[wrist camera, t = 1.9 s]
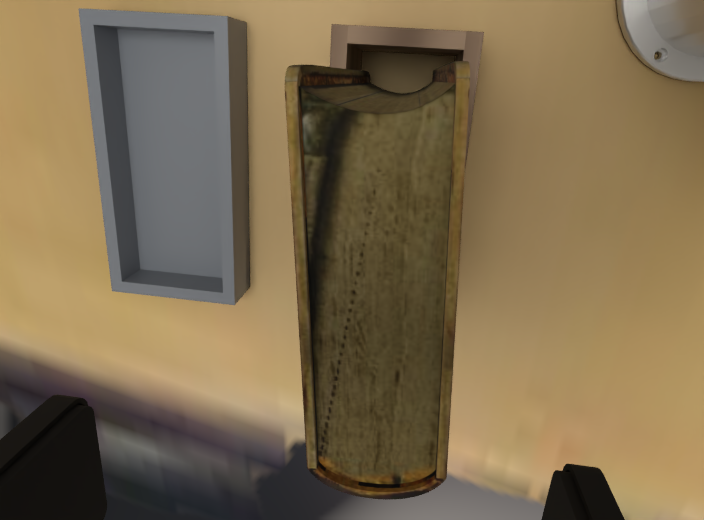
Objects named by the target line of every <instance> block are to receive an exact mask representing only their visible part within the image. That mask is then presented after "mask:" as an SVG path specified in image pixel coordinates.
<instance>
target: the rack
mask: <svg viewBox="0 0 704 520" xmlns="http://www.w3.org/2000/svg"><path fill="white" fill-rule="evenodd" d="M483 36H484V32H472V31H453V30H434V29H415V28H396V27H377V26H358V25H339V24H332V28H331V53H330V67H333V68H342V69H351V70H359V71H361V59H362V51H379V52H396V53H413V54H431V55H448V56H456V57H455V61H468V62H469V65H470V90H469V106H468V123H467V139H466V156H465V166H466V159H467V151H468V144H469V137H470V130H471V123H472V115H473V108H474V101H475V94H476V86H477V79H478V72H479V65H480V57H481V50H482V43H483Z"/></svg>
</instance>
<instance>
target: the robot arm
mask: <svg viewBox="0 0 704 520" xmlns="http://www.w3.org/2000/svg"><path fill="white" fill-rule="evenodd" d="M617 11H618V20H619V23H620V26H621V30H622V33H623V36H624V38H625V40H626V42H627V43H628V45H629V47H630V48H631V50H632V52H633V53H634V54H635V55H636V56H637V57H638V58H639V59H640V60H641V61H642V62H643V64H645V65H646V66H648V67H649V68H651V69H652V70H654V71H655V72H657V73H659V74H662V75H664V76H667V77H670V78H672V79H677V80H684V81H690V82H697V81H698V82H704V0H617ZM655 52H658V54H659V57H658V58H657V59H656V60H655V59H654V54H655ZM106 510H107V500H106V493H105V486H104V479H103V472H102V465H101V458H100V451H99V444H98V437H97V430H96V423H95V416H94V411H93V409H92V407H89V406H88V404H87V401H86V400H85V399H83V398H78V397H71V396H63V395H54V396H52V397H50V398H49V399H47V400H46V401H45V402H44V403H43V404H42V405H40V406H39V407H38V408H37V409H36V410H35V411H33V412H32V413H31V414H30V415H29V416H28V417H26V418H25V419H24V420H23V421H22V422H21V423H19V424H18V425H17V426H16V427H15V428H13V429H12V430H11V431H10V432H9V433H8V434H6V435H5V436H4V437H3V438H2V439H1V440H0V520H103V519H104V517H105V514H106ZM542 520H625V519H624V517H623V515H622V513H621V511H620V509H619V507H618V505H617V502H616V500H615V498H614V496H613V494H612V492H611V490H610V487H609V485H608V483H607V481H606V479H605V477H604V475H603V473H602V471H601V470H600V469H599V468H596V467H588V466H581V465H574V464H566V465H565V466H564V468H563V471H558V470H556V471H555V472H554V473H553V476H552V480H551V484H550V488H549V492H548V496H547V500H546V504H545V508H544V512H543V516H542Z"/></svg>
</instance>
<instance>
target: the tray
mask: <svg viewBox="0 0 704 520" xmlns="http://www.w3.org/2000/svg"><path fill="white" fill-rule="evenodd" d="M79 17H80V25H81V34H82V42H83V51H84V59H85V67H86V76H87V84H88V93H89V101H90V109H91V118H92V126H93V135H94V143H95V152H96V160H97V168H98V177H99V185H100V194H101V202H102V210H103V219H104V227H105V236H106V244H107V253H108V261H109V269H110V278H111V286H112V291H116V292H125V293H134V294H142V295H151V296H160V297H169V298H177V299H186V300H195V301H204V302H212V303H221V304H230V305H235V304H236V303H237V302H238V301H239V299H240V298H241V297H242V296H243V295H244V293H245V292H246V291H247V290H248V289H249V287H250V246H249V170H248V94H247V23H246V22H243V21H240V20H237V19H234V18H231V17H228V16H213V15H194V14H175V13H155V12H136V11H117V10H98V9H79Z"/></svg>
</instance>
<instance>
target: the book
mask: <svg viewBox="0 0 704 520" xmlns="http://www.w3.org/2000/svg"><path fill="white" fill-rule="evenodd" d="M469 90H470V65H469V62H468V61H455V62H452V63H449V64H447V65H445V66H442V67H440V68H437V69H435V70H433V80H432V82H431V83H430V84H429V85H428V86H426V87H425V88H423V89H421V90H419V91H416V92H413V93H407V94H400V93H393V92H389V91H386V90H383V89H381V88H379V87H377V86H375V85H373V84H372V83H370V75H369V73H368V72H367V71H359V70H351V69H342V68H333V67H325V66H316V65H292V66H289V67H288V68H287V71H286V76H285V100H286V117H287V133H288V150H289V167H290V184H291V201H292V218H293V235H294V252H295V269H296V286H297V303H298V320H299V337H300V354H301V371H302V388H303V405H304V422H305V439H306V456H307V468H308V470H309V471H310V472H311V473H312V474H313V475H314V476H315V477H316V478H317V479H318V480H320V481H321V482H323V483H324V484H326V485H328V486H330V487H332V488H334V489H336V490H338V491H341V492H344V493H347V494H351V495H355V496H360V497H366V498H373V499H403V498H410V497H415V496H418V495H422V494H424V493H427V492H429V491H431V490H433V489H435V488H436V487H438V486H439V485H440V484H441V483H443V482H444V480H445V479H446V476H447V459H448V442H449V425H450V408H451V392H452V375H453V358H454V341H455V324H456V307H457V291H458V274H459V257H460V240H461V223H462V207H463V190H464V173H465V156H466V139H467V123H468V106H469Z"/></svg>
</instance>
